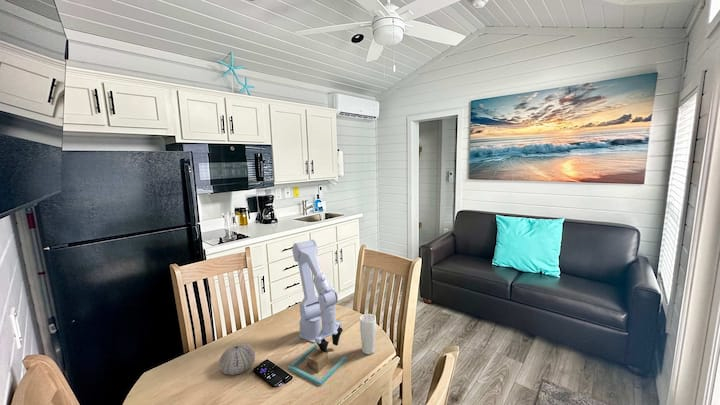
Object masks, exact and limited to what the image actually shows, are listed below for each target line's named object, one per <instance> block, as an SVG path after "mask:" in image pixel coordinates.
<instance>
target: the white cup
mask: <svg viewBox="0 0 720 405" xmlns="http://www.w3.org/2000/svg"><path fill="white" fill-rule="evenodd" d="M359 331H360V340H361V351H362V353H363V354H366V355H372V354H374V352H375V351H376V335H377V333H376V332H377V317H376V315H374V314H372V313H364V314H362V315H361V316H359Z"/></svg>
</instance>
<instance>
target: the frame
mask: <svg viewBox="0 0 720 405" xmlns="http://www.w3.org/2000/svg"><path fill="white" fill-rule="evenodd" d="M315 349H318V345H317V343H314V344H313V345H312V346H311V347H310V348H309V349H307V350H306V351H305V352H303V354H301V355H300V356H299V357H298V358H296V359H295V360H294V361H293V362H292V363H290V364H289V365H288V366H287V369H288V370H289V371H291V372H293V373H295V374H296V375H299V376H300V377H302V378H304V379H306V380H308V381H310V382H312V383H314V384H316V385H318V386H320V387H321V386H322V385H324V383H326V382H327V381H328V380H329V378H331V376H332V375H333V374H334V373H335V372H336V371H337V370H338V369H339V368H341V366H342V365H343V364H344V363H345V362H346V361H347V356H343V357H341V359H339V361H338V362H336V364H334V366H332V368H331V369H329V370H328V372H326V373H325V374H324V376H323V377H321V378H319V377H317V376H315V375H312V374H310V373H308V372H306V371H304V370H302V369H300V368H299V367H296V366H297V365H299V364H300V363H301V362H302V361H304V359H305V360H306V357H307V356H308V355H309V354H310V353H312V352H313V351H314V350H315Z"/></svg>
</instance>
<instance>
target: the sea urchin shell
mask: <svg viewBox="0 0 720 405" xmlns="http://www.w3.org/2000/svg"><path fill="white" fill-rule="evenodd" d="M255 359H256V351H255V350H254V348H253V347H251V345H249V344H242V343H236V344H233V345H232V346H230V347H228V348H227V349H226V350H225V351H224V352H223V353H222V355H221V356H220V357H219V364H218V365H219V369H220V371H221V373H223V374H225V375H229V376H230V375H231V376H236V375H238V374H242V373H243V372H246V371H248V369H249V368H251V366H252V365H253V364H254V362H255Z"/></svg>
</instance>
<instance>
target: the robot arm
mask: <svg viewBox="0 0 720 405" xmlns="http://www.w3.org/2000/svg"><path fill="white" fill-rule="evenodd" d="M291 251H292V256H293V259H294V262H297V265H298V270H299V275H300V279H301V280H300V281H301V285H302V286H301V287H302V292H303V295H304V298H303V299H302V300H301V302H300V303H299V316H300V319H299V335H298V337H299V338H301V339H303V340H305V341H308V342H311V343H314V344H316V345H317V347H318V349H319V350H321V351H323V352H326V353H328V346H329V341H327V340H326V339H327V338H329V337H331V339H332V345H334V346H336V347H337V346H338V345H339V341H340V338H341V335H342V333H343V328H342V321H340V320H337V319H336V304H337V303H338V302H339V301H338V300H339V298H338V294H337V291H336V290H335V289H334V288H333V287H332V286H331V285H330V282H329V279H328V277H327V275H326V274H325V273H323V272H322V269H321V266H320V262H319V259H318V257H317V255H318V251H319V250H318V243H317V242H316V241H315V239H311V240H307V241H306V240H305V241H301V242H295V243H294V244H293V245H292V249H291ZM312 274H313V276H312ZM315 289H316V291H315ZM316 292H317V295H316Z"/></svg>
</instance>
